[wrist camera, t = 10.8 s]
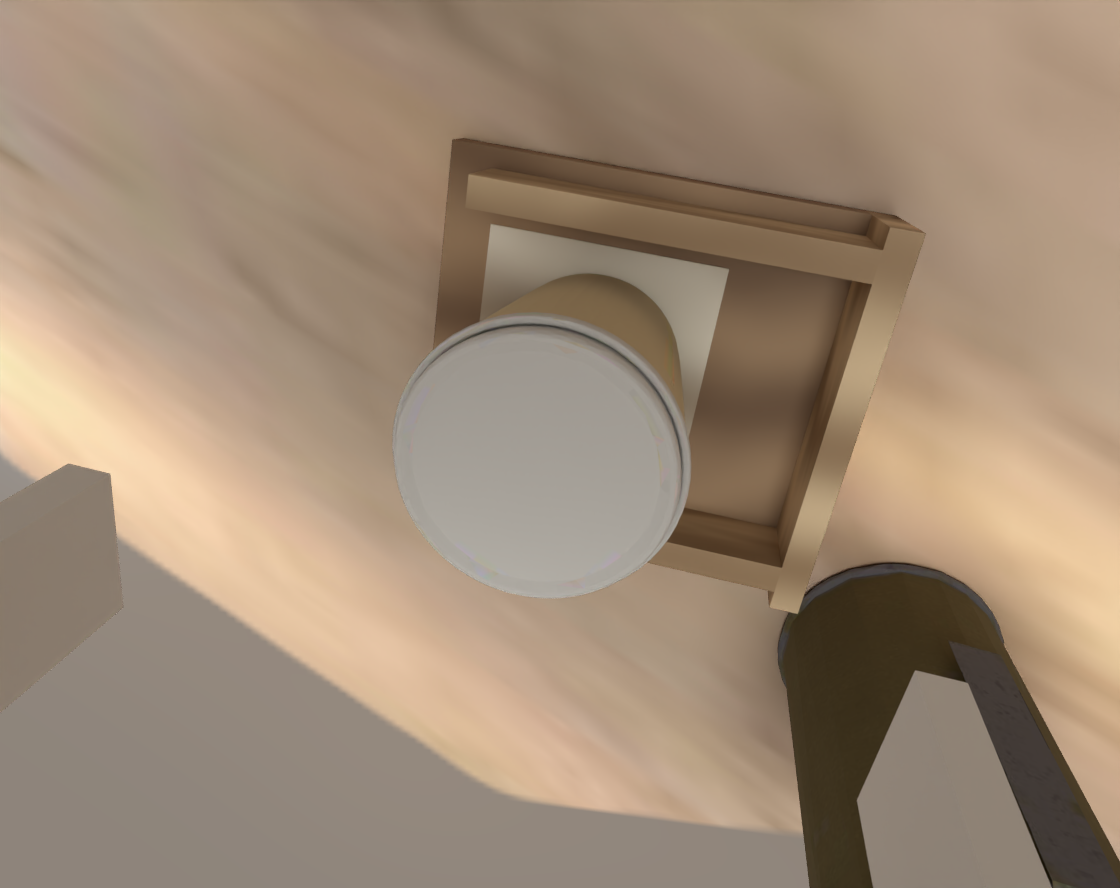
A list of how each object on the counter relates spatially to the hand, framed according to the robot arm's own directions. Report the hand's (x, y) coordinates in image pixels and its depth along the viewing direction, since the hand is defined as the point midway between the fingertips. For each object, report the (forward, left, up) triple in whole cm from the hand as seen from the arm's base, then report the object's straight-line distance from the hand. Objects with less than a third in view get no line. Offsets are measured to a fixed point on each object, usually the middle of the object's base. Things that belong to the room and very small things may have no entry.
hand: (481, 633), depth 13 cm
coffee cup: (+2, -1, -23) cm, 23 cm away
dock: (+3, +1, -24) cm, 24 cm away
